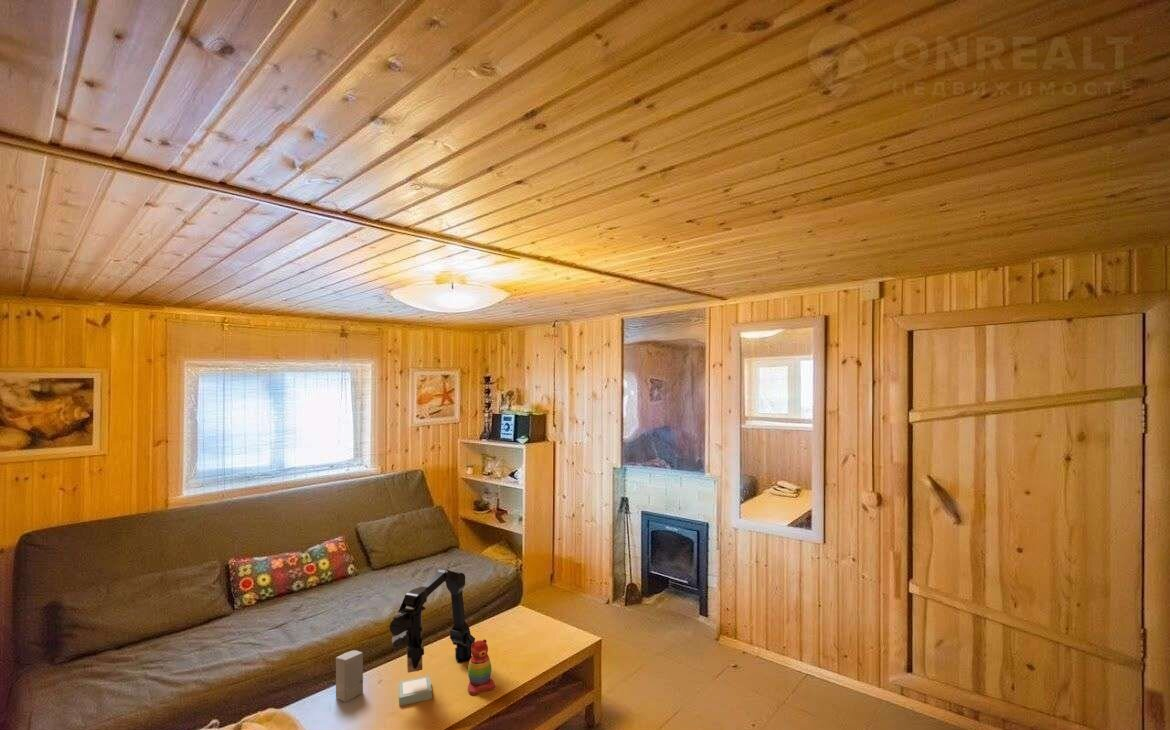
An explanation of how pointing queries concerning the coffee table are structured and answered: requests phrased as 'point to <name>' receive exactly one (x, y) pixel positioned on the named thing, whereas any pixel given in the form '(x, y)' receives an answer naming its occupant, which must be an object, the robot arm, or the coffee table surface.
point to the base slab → (415, 690)
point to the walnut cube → (410, 665)
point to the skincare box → (349, 675)
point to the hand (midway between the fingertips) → (414, 664)
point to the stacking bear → (479, 669)
